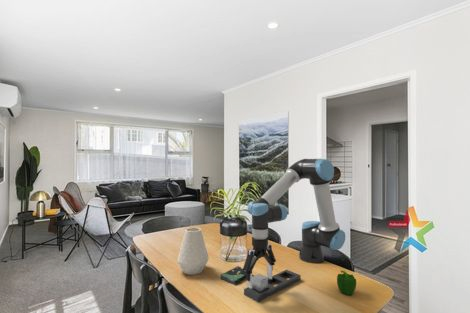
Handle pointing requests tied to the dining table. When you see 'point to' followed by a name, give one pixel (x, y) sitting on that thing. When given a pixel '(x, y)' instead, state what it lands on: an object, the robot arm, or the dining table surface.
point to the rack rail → (272, 289)
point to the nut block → (259, 283)
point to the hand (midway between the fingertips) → (259, 282)
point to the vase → (192, 252)
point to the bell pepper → (346, 283)
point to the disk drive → (234, 275)
